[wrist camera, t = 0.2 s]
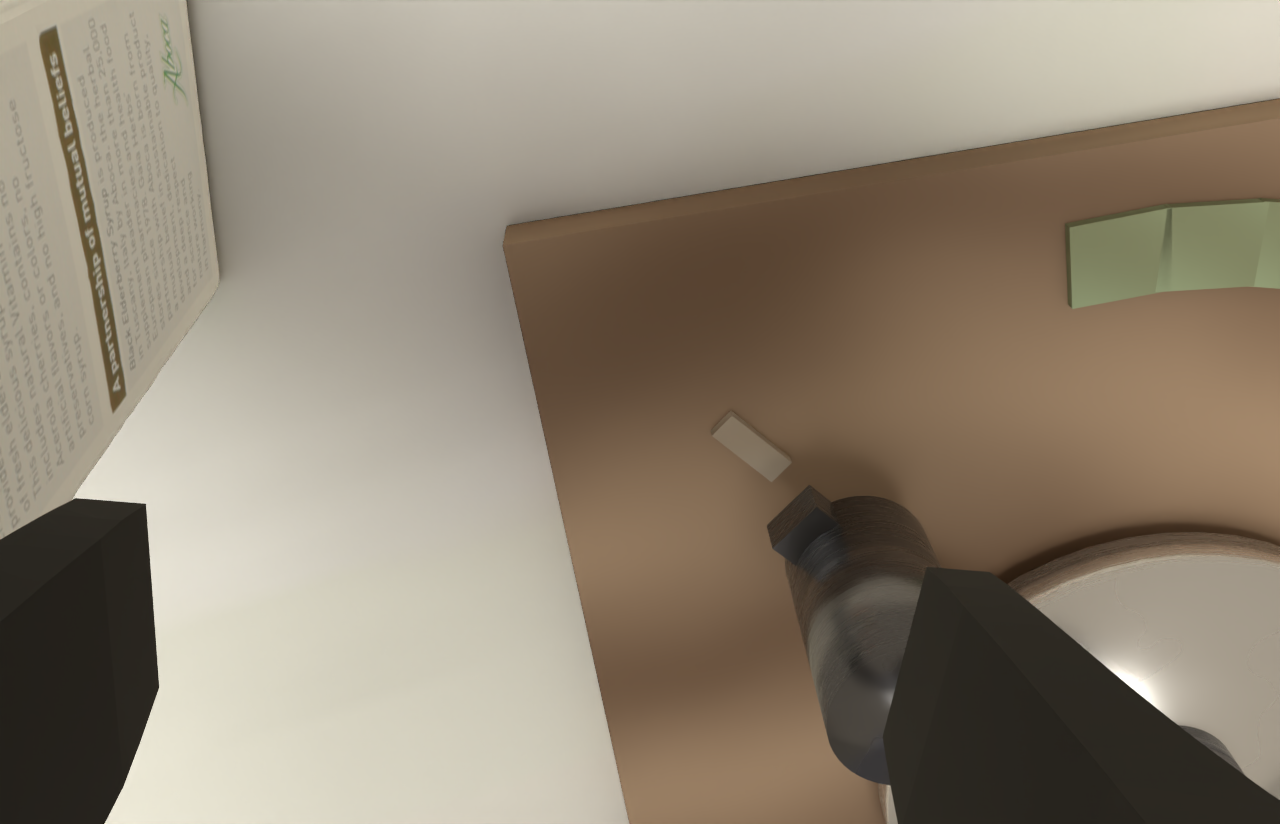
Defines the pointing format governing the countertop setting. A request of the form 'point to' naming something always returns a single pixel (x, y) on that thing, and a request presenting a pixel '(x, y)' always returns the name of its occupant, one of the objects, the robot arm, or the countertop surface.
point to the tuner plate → (888, 407)
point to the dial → (1070, 597)
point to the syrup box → (92, 230)
